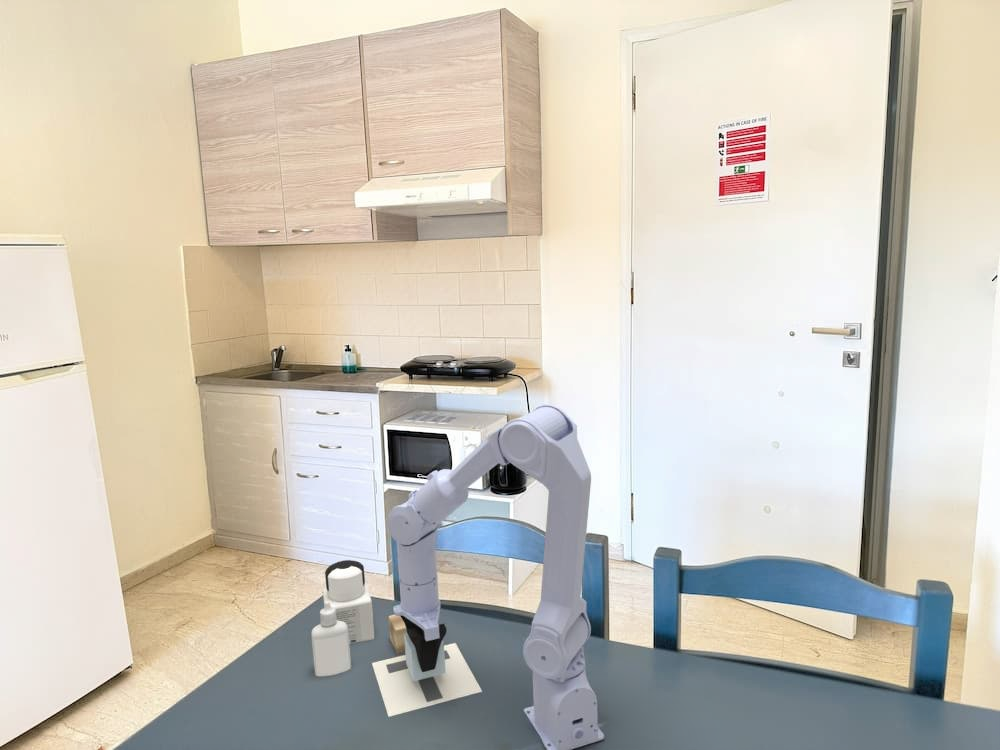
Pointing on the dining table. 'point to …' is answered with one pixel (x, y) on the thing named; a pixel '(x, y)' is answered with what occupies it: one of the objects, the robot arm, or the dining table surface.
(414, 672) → the pale blue cube
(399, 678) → the letter card
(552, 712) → the robot arm
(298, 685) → the dining table surface
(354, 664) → the dining table surface
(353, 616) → the container
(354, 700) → the dining table surface
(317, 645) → the eye dropper bottle
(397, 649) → the oak block
